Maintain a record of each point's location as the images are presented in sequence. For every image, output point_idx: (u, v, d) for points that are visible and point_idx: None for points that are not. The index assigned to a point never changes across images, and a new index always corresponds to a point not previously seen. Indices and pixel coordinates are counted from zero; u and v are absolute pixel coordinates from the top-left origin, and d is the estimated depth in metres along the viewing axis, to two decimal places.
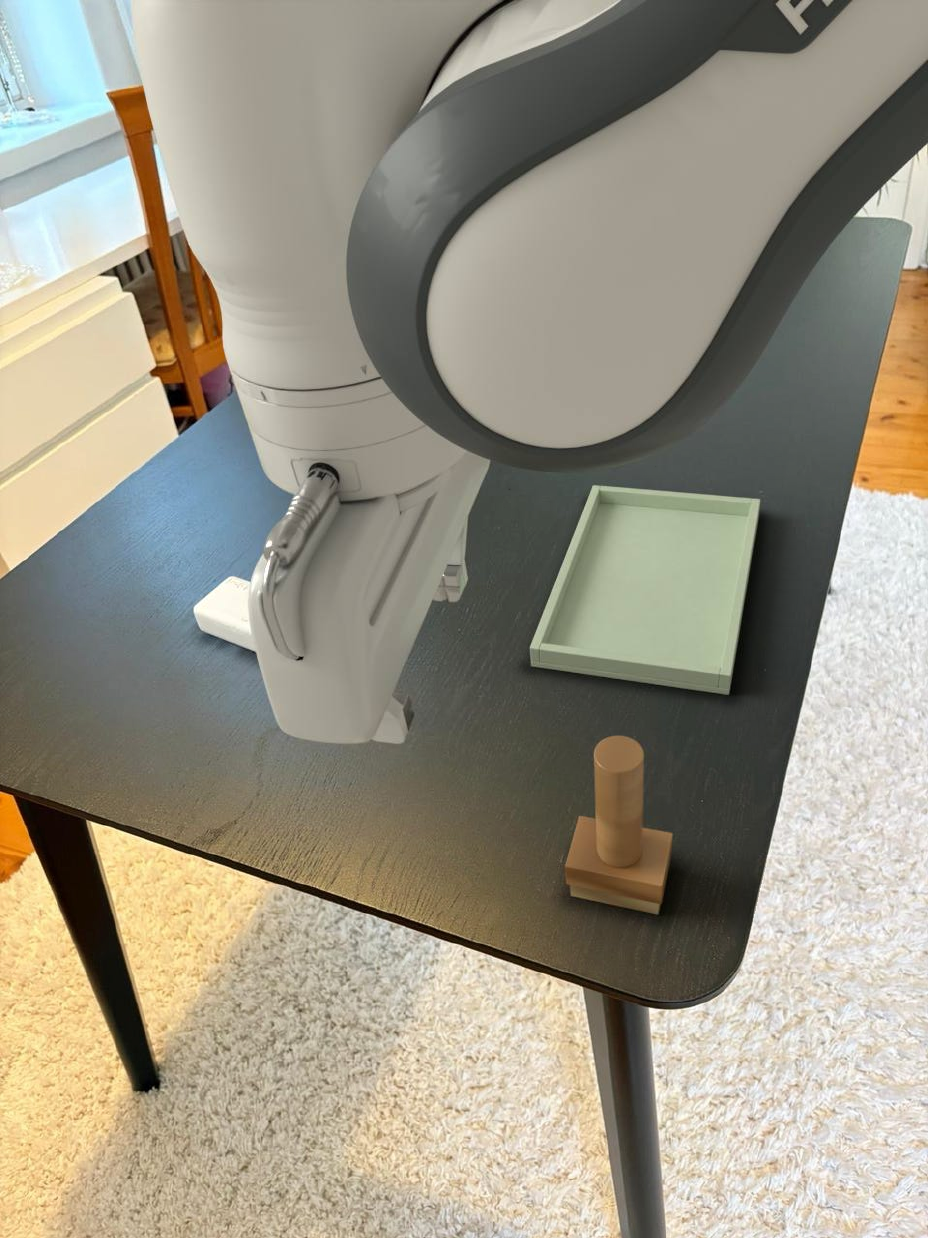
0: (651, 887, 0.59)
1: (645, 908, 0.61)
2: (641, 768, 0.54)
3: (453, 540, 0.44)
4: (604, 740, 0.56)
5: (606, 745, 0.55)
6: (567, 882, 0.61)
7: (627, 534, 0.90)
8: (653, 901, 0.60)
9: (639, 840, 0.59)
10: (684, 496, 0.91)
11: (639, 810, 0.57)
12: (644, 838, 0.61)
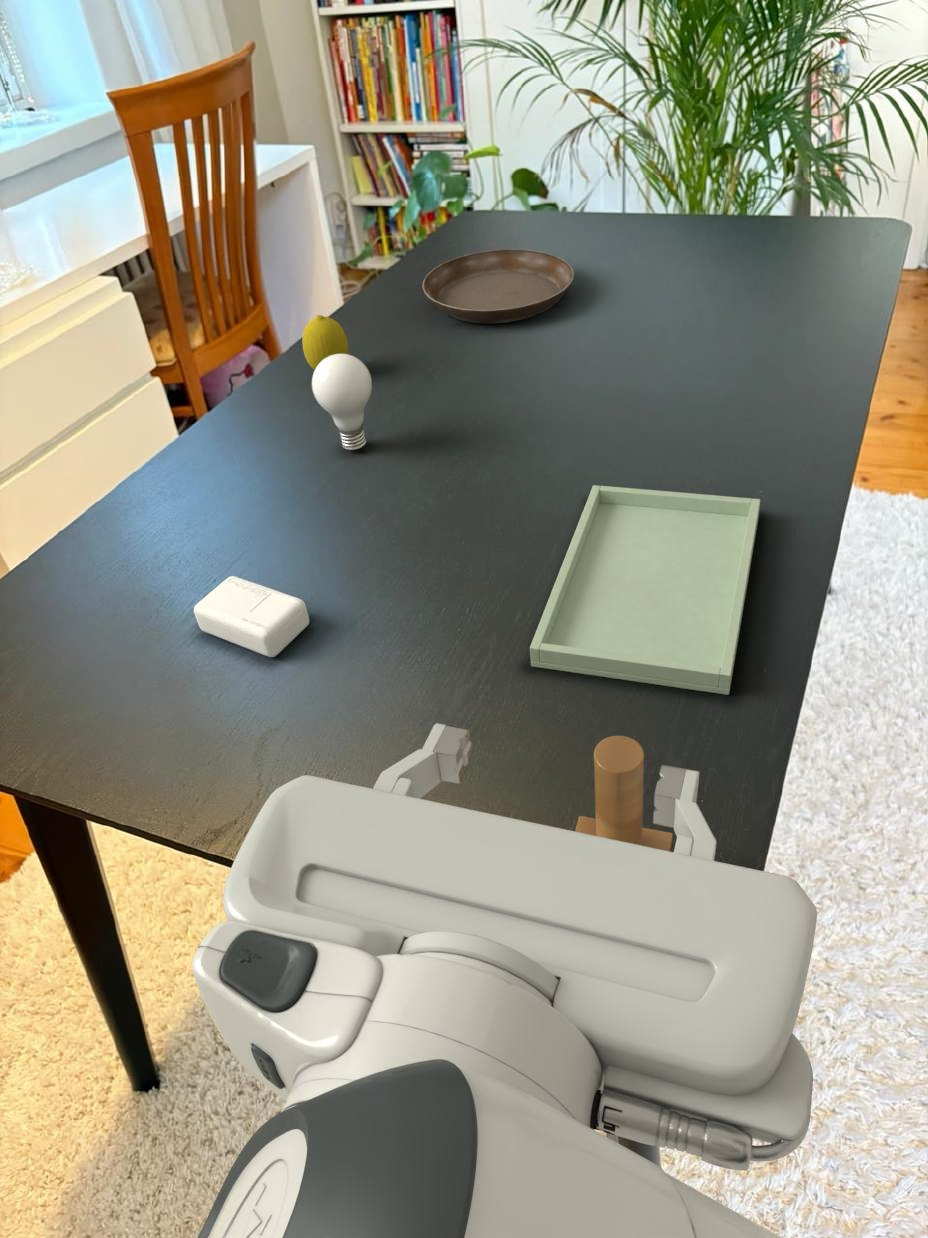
0: None
1: None
2: (641, 768, 0.54)
3: (467, 822, 0.35)
4: (604, 740, 0.56)
5: (606, 745, 0.55)
6: None
7: (627, 534, 0.90)
8: None
9: (639, 840, 0.59)
10: (684, 496, 0.91)
11: (639, 810, 0.57)
12: (644, 838, 0.61)
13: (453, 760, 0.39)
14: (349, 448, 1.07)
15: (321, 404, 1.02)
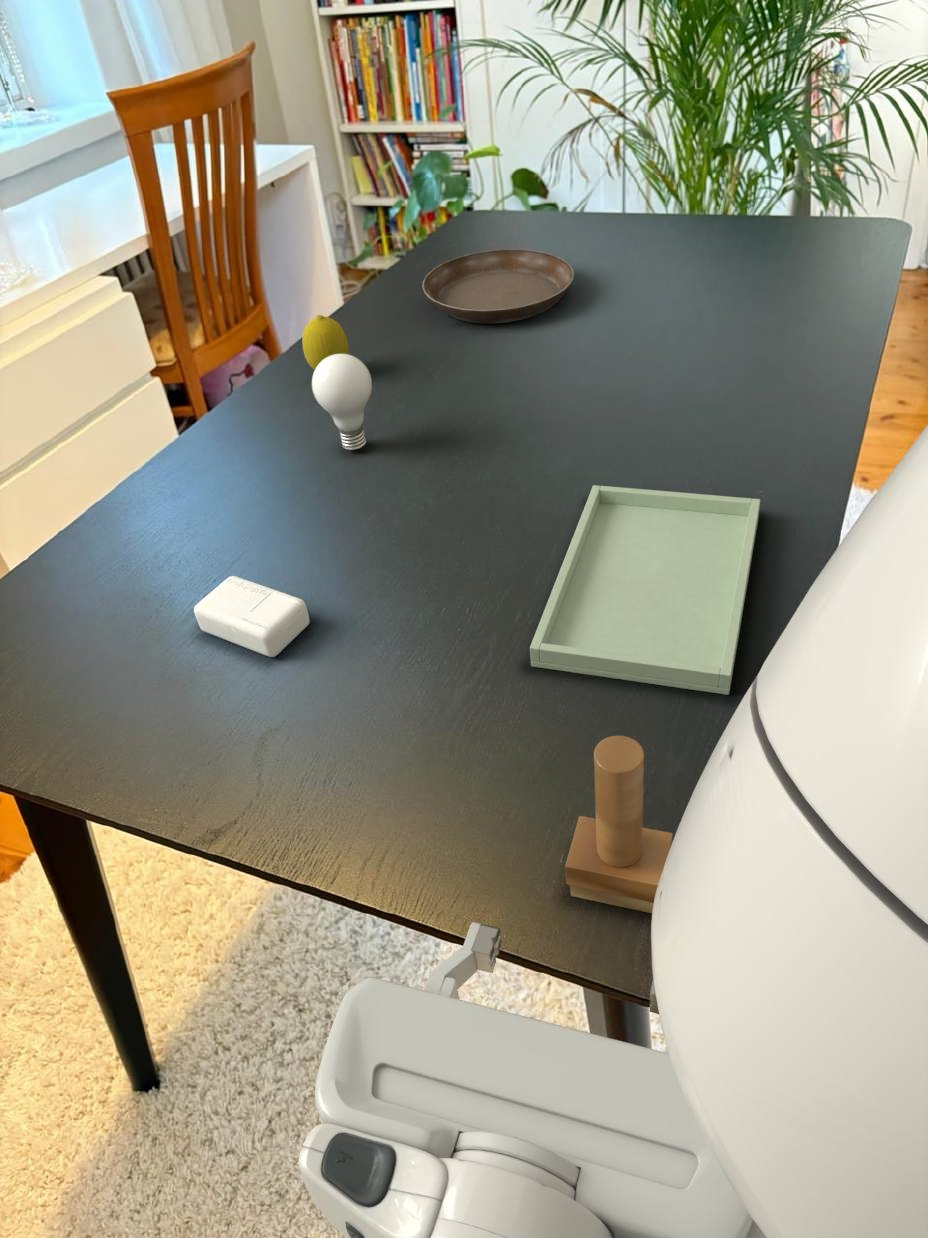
0: (651, 887, 0.59)
1: (645, 908, 0.61)
2: (641, 768, 0.54)
3: (503, 1025, 0.45)
4: (604, 740, 0.56)
5: (606, 745, 0.55)
6: (567, 882, 0.61)
7: (627, 534, 0.90)
8: (653, 901, 0.60)
9: (639, 840, 0.59)
10: (684, 496, 0.91)
11: (639, 810, 0.57)
12: (644, 838, 0.61)
13: (487, 957, 0.49)
14: (349, 448, 1.07)
15: (321, 404, 1.02)
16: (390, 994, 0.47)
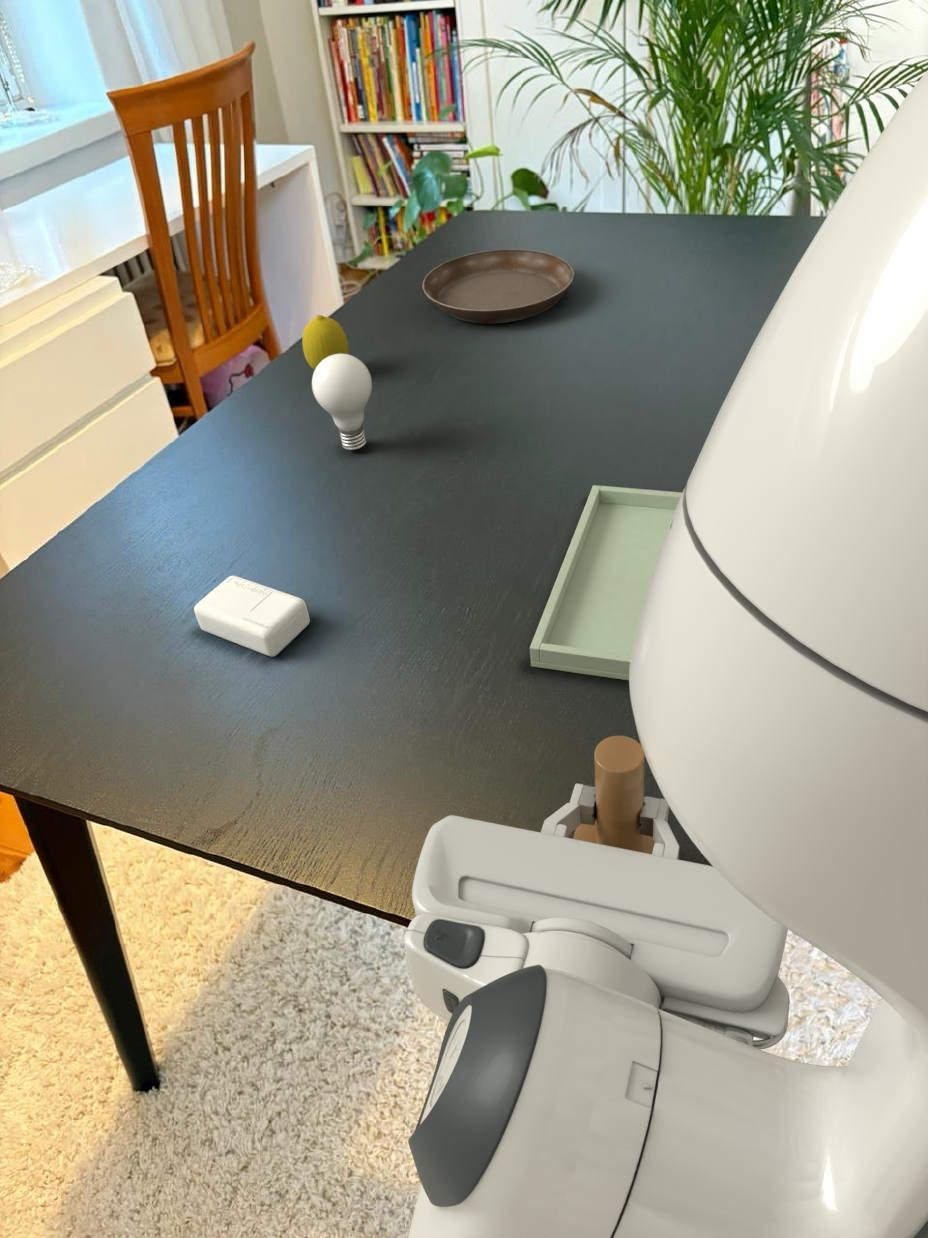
0: None
1: None
2: (642, 768, 0.54)
3: (564, 846, 0.54)
4: (605, 740, 0.56)
5: (607, 745, 0.55)
6: None
7: (627, 534, 0.90)
8: None
9: (639, 840, 0.59)
10: None
11: (639, 810, 0.57)
12: (644, 838, 0.61)
13: (591, 810, 0.57)
14: (349, 448, 1.07)
15: (321, 404, 1.02)
16: (468, 826, 0.56)
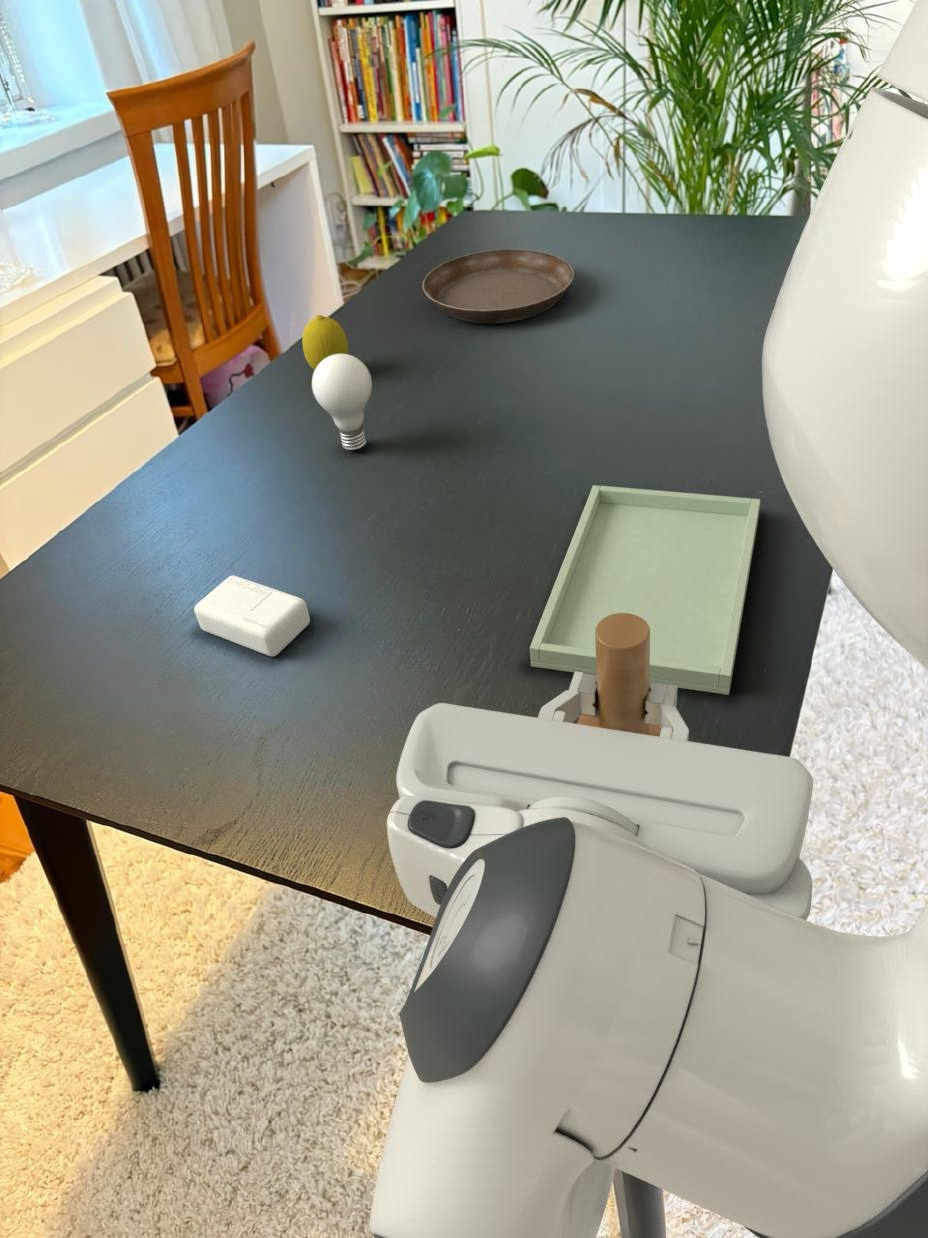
0: None
1: None
2: (647, 645, 0.50)
3: (563, 730, 0.50)
4: (606, 617, 0.51)
5: (608, 622, 0.51)
6: None
7: (627, 534, 0.90)
8: None
9: (645, 733, 0.54)
10: (684, 496, 0.91)
11: (645, 696, 0.52)
12: None
13: (592, 697, 0.53)
14: (349, 448, 1.07)
15: (321, 404, 1.02)
16: (459, 712, 0.51)
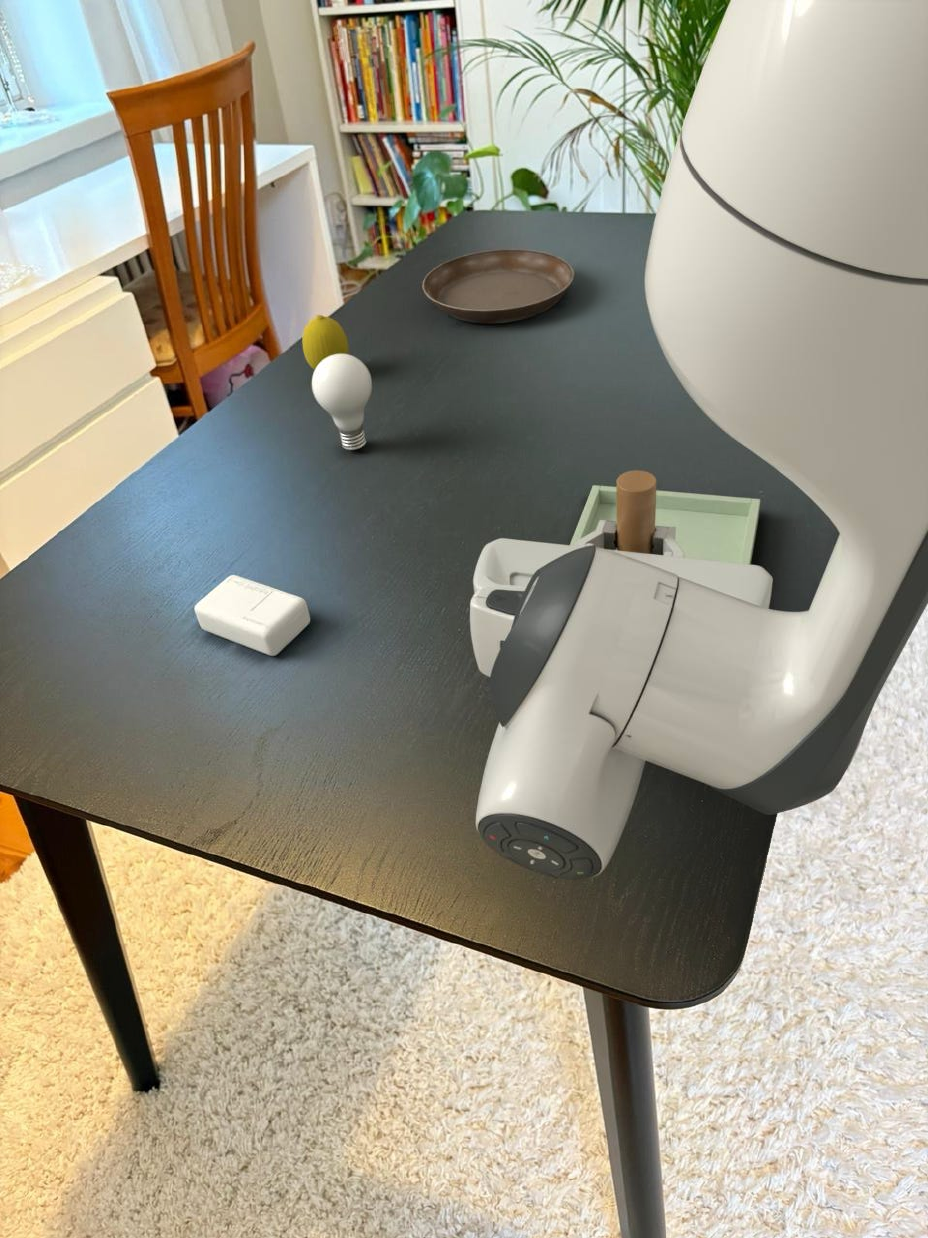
0: None
1: None
2: (654, 491, 0.68)
3: None
4: (624, 473, 0.70)
5: (626, 476, 0.69)
6: None
7: None
8: None
9: None
10: (684, 496, 0.91)
11: (652, 533, 0.71)
12: None
13: (613, 536, 0.71)
14: (349, 448, 1.07)
15: (321, 404, 1.02)
16: (515, 543, 0.70)
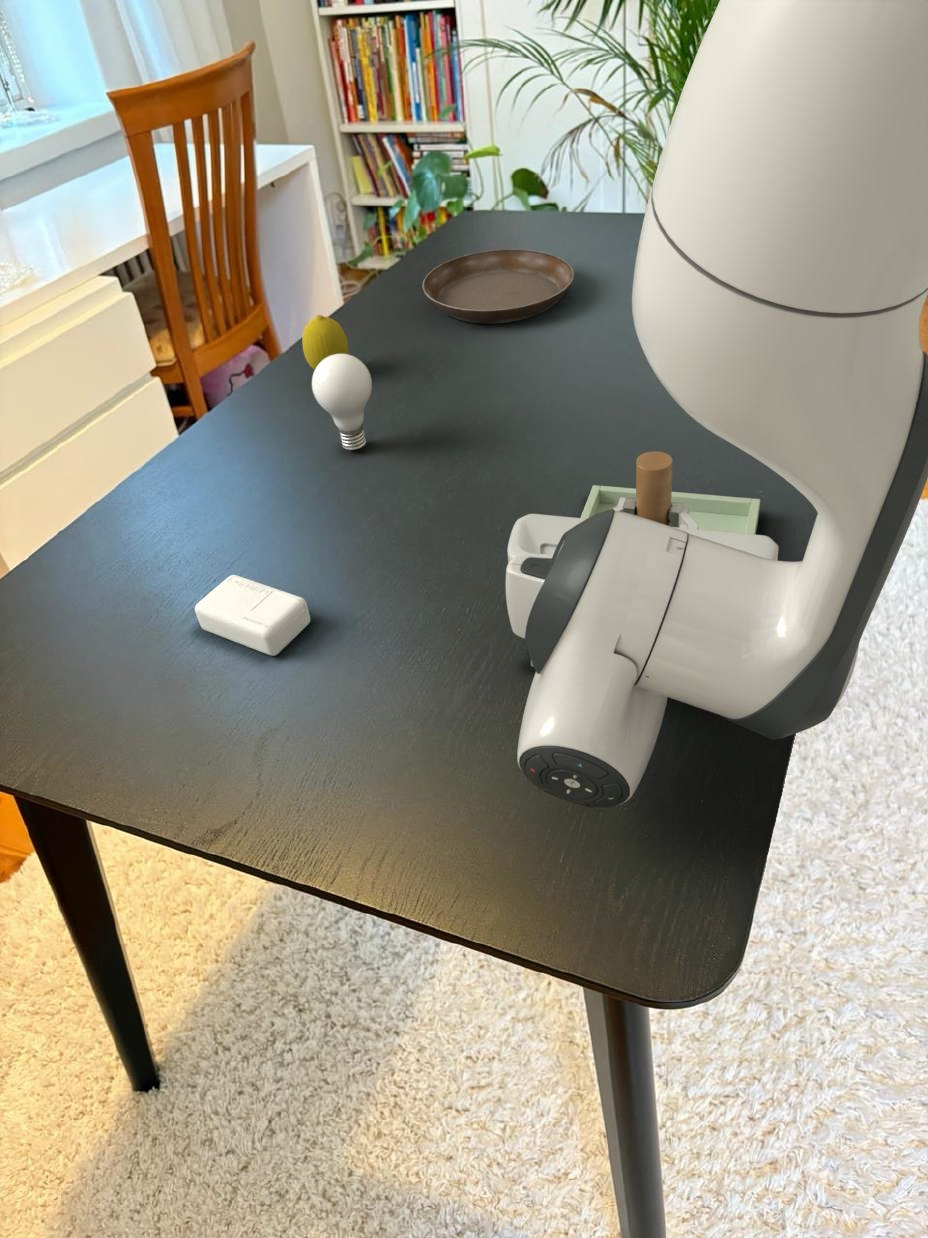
0: None
1: None
2: (671, 469, 0.75)
3: None
4: (643, 454, 0.77)
5: (645, 456, 0.76)
6: None
7: None
8: None
9: None
10: (684, 496, 0.91)
11: (668, 509, 0.78)
12: None
13: (633, 512, 0.78)
14: (349, 448, 1.07)
15: (321, 404, 1.02)
16: (544, 517, 0.77)
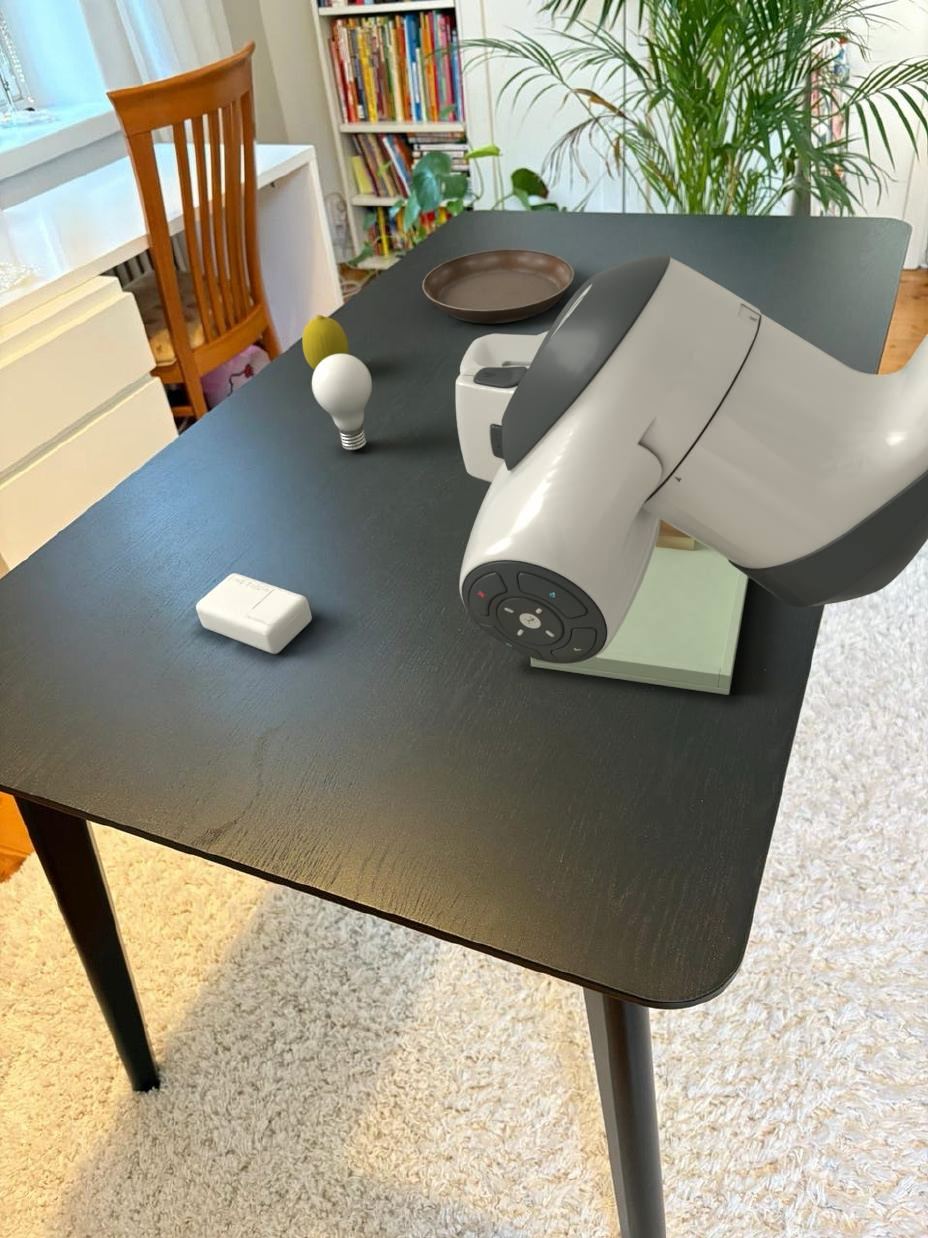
0: None
1: (684, 546, 0.87)
2: None
3: None
4: None
5: None
6: None
7: None
8: None
9: None
10: None
11: None
12: None
13: None
14: (349, 448, 1.07)
15: (321, 404, 1.02)
16: (509, 336, 0.62)
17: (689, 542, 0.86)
